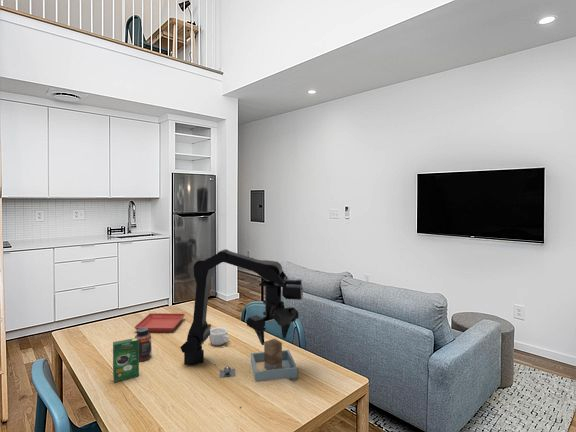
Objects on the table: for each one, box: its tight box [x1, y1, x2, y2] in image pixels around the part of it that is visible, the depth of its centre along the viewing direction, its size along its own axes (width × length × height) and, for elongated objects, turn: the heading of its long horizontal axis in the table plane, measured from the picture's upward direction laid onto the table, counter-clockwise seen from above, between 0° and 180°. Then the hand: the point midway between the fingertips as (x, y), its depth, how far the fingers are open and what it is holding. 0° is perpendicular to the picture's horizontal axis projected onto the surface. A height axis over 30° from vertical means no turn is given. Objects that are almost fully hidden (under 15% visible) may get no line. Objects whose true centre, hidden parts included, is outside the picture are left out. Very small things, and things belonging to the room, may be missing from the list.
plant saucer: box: [134, 312, 186, 333], centre depth 170 cm, size 18×18×3 cm
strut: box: [263, 338, 283, 370], centre depth 127 cm, size 4×4×10 cm
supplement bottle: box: [134, 328, 153, 362], centre depth 137 cm, size 6×6×11 cm
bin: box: [250, 349, 299, 382], centre depth 128 cm, size 14×14×4 cm
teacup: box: [208, 326, 230, 346], centre depth 150 cm, size 10×8×5 cm
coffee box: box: [112, 337, 140, 383], centre depth 123 cm, size 8×3×13 cm, turn 123°
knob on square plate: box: [219, 365, 237, 379], centre depth 124 cm, size 5×5×3 cm
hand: (273, 341), depth 127 cm, fingers open, 9 cm apart
